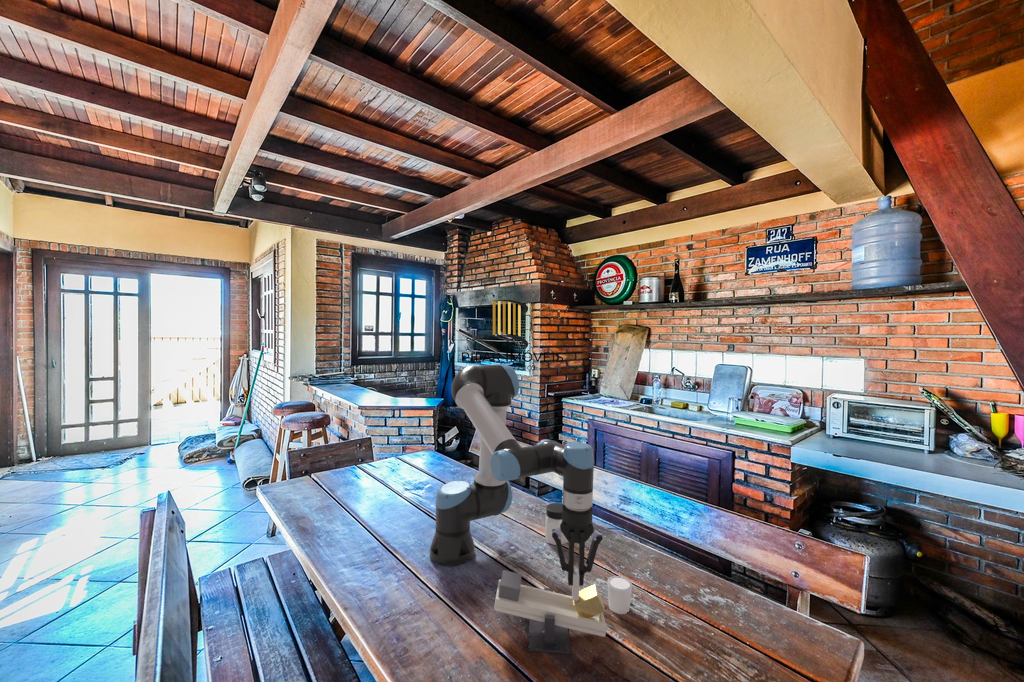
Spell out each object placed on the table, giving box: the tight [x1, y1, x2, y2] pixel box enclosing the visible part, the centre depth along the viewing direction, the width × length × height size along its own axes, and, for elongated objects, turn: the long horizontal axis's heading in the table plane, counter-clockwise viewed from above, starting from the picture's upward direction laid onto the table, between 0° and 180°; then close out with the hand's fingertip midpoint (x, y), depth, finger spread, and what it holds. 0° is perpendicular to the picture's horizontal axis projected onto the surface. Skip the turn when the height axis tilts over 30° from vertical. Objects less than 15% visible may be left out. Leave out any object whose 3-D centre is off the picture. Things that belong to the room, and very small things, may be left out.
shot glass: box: [606, 575, 633, 615], centre depth 116 cm, size 7×7×7 cm
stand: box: [528, 587, 571, 655], centre depth 106 cm, size 10×14×8 cm
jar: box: [544, 502, 569, 546], centre depth 152 cm, size 9×8×12 cm
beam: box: [493, 569, 608, 638], centre depth 106 cm, size 28×9×6 cm, turn 87°
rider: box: [573, 583, 606, 619], centre depth 105 cm, size 4×4×6 cm
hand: (575, 596), depth 105 cm, fingers closed
